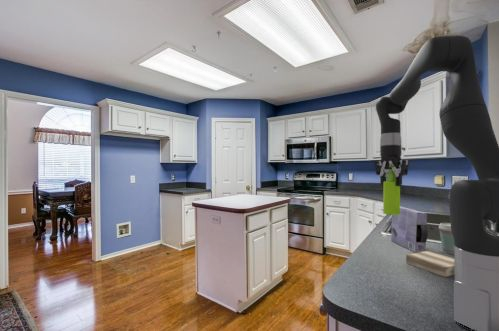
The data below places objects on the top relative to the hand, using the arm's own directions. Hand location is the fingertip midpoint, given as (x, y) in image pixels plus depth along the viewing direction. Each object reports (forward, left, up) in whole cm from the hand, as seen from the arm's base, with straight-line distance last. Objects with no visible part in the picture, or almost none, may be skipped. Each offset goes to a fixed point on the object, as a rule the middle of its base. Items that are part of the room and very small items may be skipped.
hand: (391, 185), depth 98 cm
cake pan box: (+19, +6, -29) cm, 36 cm away
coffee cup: (+29, -6, -29) cm, 42 cm away
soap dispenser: (0, 0, -12) cm, 12 cm away
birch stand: (+6, -13, -29) cm, 33 cm away
